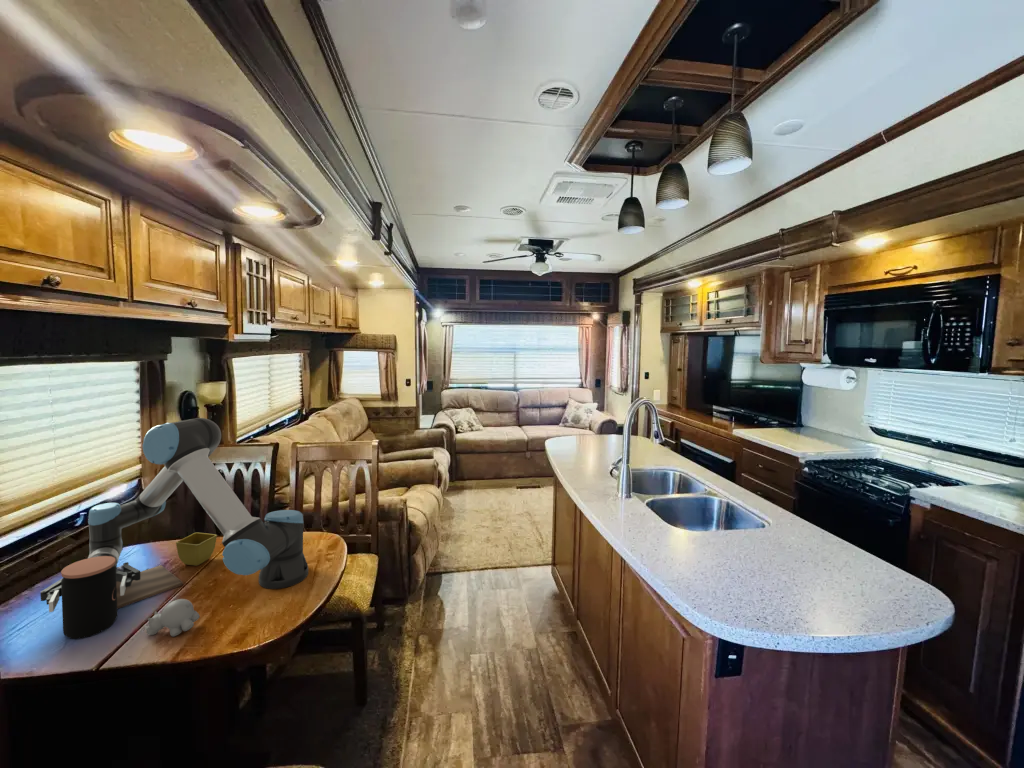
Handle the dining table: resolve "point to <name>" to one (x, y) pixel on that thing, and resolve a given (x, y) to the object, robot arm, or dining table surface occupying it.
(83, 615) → the coffee jar
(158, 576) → the walnut board
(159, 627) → the chubby cartoon animal
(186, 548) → the flower pot
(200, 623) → the dining table surface
